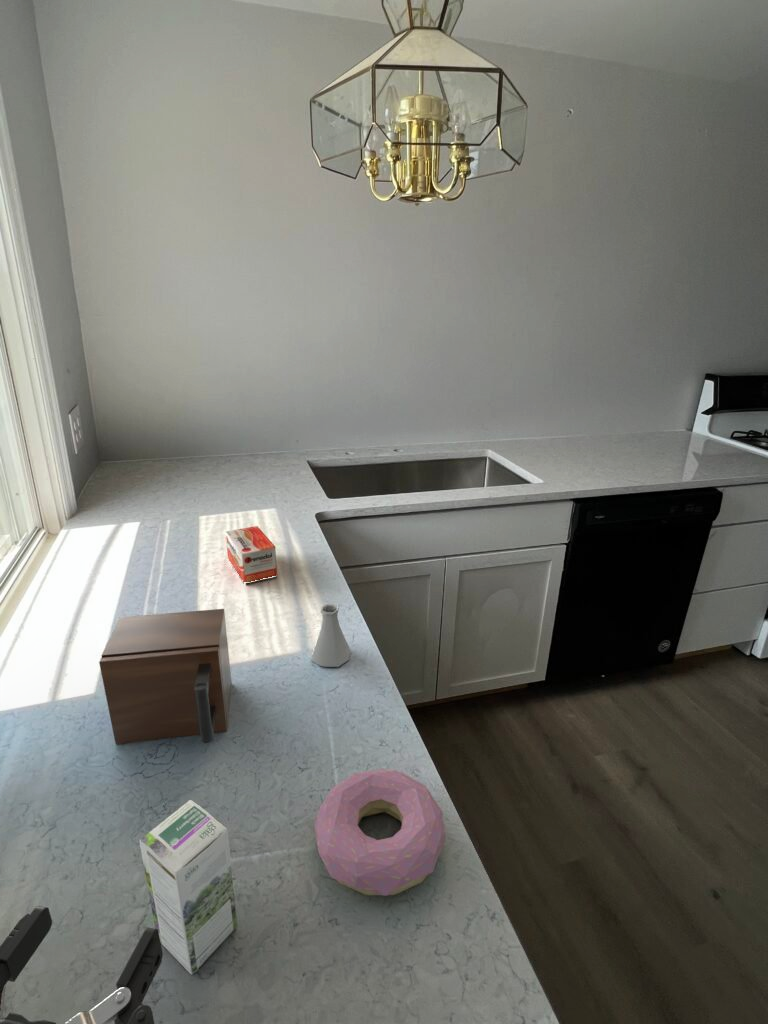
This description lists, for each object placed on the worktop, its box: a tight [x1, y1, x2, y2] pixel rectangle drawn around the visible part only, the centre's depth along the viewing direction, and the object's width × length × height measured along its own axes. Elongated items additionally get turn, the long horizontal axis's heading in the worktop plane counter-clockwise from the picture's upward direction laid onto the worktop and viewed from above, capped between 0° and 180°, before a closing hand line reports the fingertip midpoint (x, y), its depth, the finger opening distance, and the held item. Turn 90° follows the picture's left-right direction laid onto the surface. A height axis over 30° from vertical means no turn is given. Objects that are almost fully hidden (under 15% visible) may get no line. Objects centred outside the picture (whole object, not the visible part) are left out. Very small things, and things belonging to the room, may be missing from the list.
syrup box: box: [139, 799, 238, 976], centre depth 54 cm, size 6×6×14 cm
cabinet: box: [101, 608, 233, 726], centre depth 85 cm, size 10×16×15 cm, turn 101°
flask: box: [310, 603, 351, 668], centre depth 99 cm, size 7×7×10 cm
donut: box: [313, 768, 446, 897], centre depth 66 cm, size 16×15×5 cm
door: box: [98, 647, 228, 745], centre depth 77 cm, size 7×16×14 cm, turn 101°
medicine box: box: [225, 525, 278, 583], centre depth 132 cm, size 15×8×8 cm, turn 29°
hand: (99, 924), depth 40 cm, fingers open, 8 cm apart
